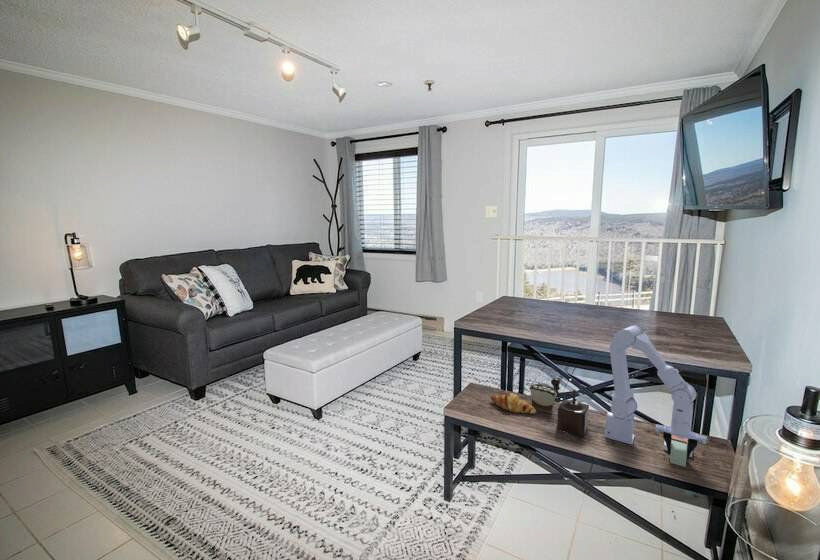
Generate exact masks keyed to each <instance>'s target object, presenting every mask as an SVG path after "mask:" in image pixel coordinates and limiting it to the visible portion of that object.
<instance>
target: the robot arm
mask: <svg viewBox="0 0 820 560" xmlns="http://www.w3.org/2000/svg"><path fill="white" fill-rule="evenodd" d="M630 347H631V349H632V350H635V351H636V350H638V351H640V352H642V353H643V354H644V356H645V357H646V358H647V359H648V360H649V361H650V362H651V364H652V365H653V366H654V367H655V369H657V377H659V378H660V380H661V381H662V383H663V384H664V385H665V386H666V388H667V389H668V390H669V392H670V393H671V395H670V397H671V400H672V401H673V404H672V412H671V413H672V414H671V422H670V426H669V425H661V424H655V433H662V437H663V440H665V442H666V445H667V449H668V451H667V455H668V456H670V453H671V440H672V439H671V437H672V435H674V436H677V437H678V438H681V439H684V438H686V439H688V444H687V443H686V444H687V459H686V461H688V460H689V458H690V457H689V456H690V454H691V452H692V453H693V451H694V450H695V448H697V446H698V442H700V443H702V444H703V445H707V435H706V436H705V435H703V434H699V433H696V432H694V431H692V423H693V413H694V400H696V398H697V394H698V393H697V391H696V389H695V387H694V386H693V385H691V384H689V383H688V382H687V381H685V379H683V377H682V375H680V370H679V369H677V368H675V367H674V366H672V365H669V364H667V362H666V361H665V360H664V359H663V357H662V356H661V355H660V353H659V351H658V350H657V349H656V348H655V346H654V345H653V343H652V342H651V340H650V338H649V335H648V334H646V333H645V332H644V330H643V329H642V328H641V327H640V326H637V325H630V326H627V327H625V328H622V329H619V330H618V331H617V332H616V333H614V334H613V339H612V341H611V342H610V345H609V354H610V355H609V356H610V362H611V369H612V370H611V371H612V372H611V373H612V379H613V388H614V393H613V396H612V398H611V399H612V403H611V405H610V411H607V414H606V420H605V427H604V430H605V431H604V432H605V433H604V438H606V439H611V440H613V441H617V442H620V443H621V442H622V443H625V444H629V445H633V444H634V438H635V434H634V426H635V425H634V423H635V415H634V413H635V412H636V411H637V410H638V403H637V401H636V399H635V395H634V393H633V392H632V391H631V386H630V378H629V377H630V376H629V368H628V361H627V354H626V353H627V352H626V351H627V350H628V349H629V348H630Z"/></svg>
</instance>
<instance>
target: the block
mask: <svg viewBox="0 0 820 560" xmlns="http://www.w3.org/2000/svg"><path fill="white" fill-rule="evenodd" d="M686 459H687V443H686V442H682V441H678V440H674V439H671V453H670V455H669V463H671V464H673V465H677V466H681V467H684V468H686V467H687V460H686Z"/></svg>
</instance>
